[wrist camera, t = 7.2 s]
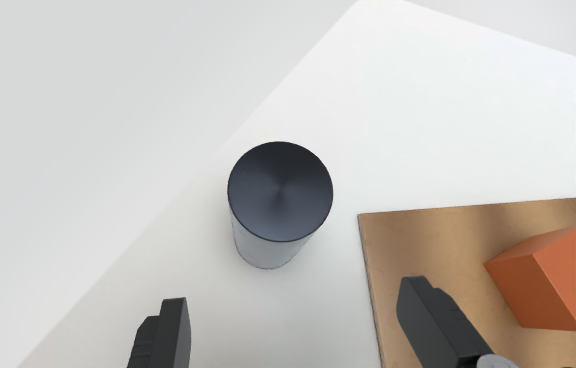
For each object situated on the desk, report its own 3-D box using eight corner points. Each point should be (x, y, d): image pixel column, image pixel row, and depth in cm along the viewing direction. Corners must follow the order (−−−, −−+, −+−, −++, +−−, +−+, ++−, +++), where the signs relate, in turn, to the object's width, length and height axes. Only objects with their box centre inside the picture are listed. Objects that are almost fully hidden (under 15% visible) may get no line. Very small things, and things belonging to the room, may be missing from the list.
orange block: (522, 328, 26) (583, 332, 21) (482, 263, 27) (532, 254, 22) (572, 296, 27) (640, 293, 22) (532, 236, 28) (588, 221, 24)
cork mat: (392, 425, 24) (395, 428, 23) (357, 215, 28) (359, 213, 27) (655, 383, 26) (664, 385, 26) (585, 198, 31) (592, 196, 30)
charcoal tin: (236, 272, 26) (230, 247, 15) (233, 206, 27) (224, 143, 17) (303, 265, 26) (340, 237, 16) (296, 202, 28) (326, 138, 17)
